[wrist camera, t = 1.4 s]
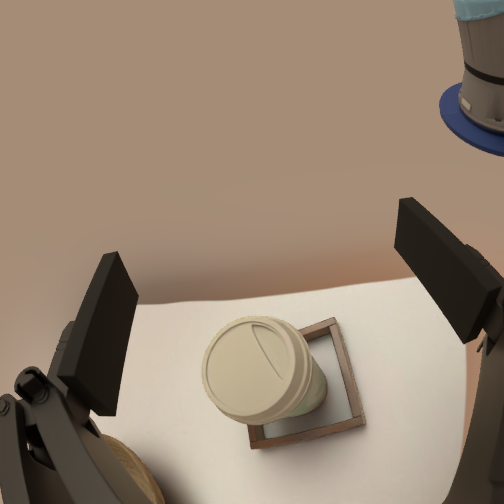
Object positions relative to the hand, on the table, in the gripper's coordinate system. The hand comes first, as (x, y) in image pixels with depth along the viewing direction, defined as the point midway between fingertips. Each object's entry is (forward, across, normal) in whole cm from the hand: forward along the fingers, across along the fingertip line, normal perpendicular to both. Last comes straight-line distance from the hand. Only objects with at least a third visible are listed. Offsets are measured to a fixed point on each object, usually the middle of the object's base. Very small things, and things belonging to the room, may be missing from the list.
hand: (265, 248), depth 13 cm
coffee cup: (+4, +2, -21) cm, 22 cm away
